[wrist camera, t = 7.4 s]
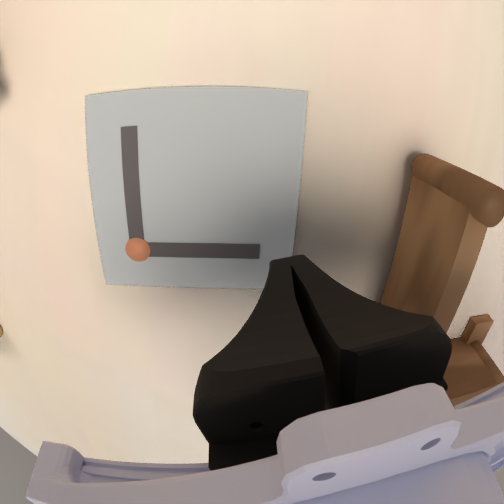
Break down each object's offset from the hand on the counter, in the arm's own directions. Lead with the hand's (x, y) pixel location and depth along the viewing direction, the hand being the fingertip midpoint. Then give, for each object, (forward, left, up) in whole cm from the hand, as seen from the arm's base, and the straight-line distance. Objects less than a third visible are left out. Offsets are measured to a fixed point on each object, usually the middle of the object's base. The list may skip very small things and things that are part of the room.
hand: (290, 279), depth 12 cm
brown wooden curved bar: (-2, -6, -2) cm, 6 cm away
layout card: (+3, +4, -3) cm, 5 cm away
